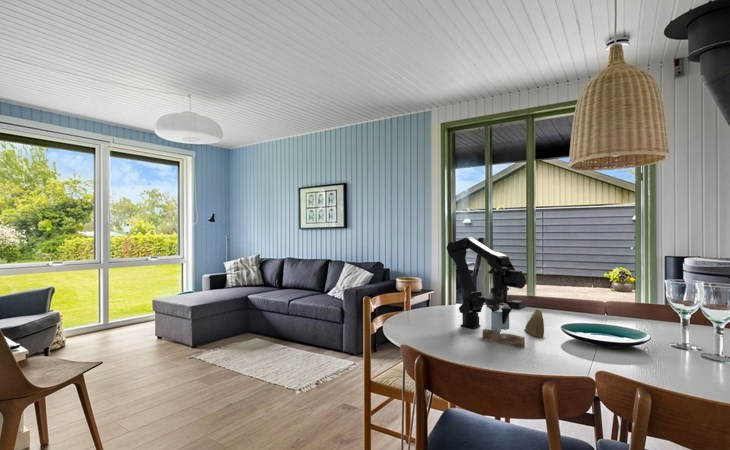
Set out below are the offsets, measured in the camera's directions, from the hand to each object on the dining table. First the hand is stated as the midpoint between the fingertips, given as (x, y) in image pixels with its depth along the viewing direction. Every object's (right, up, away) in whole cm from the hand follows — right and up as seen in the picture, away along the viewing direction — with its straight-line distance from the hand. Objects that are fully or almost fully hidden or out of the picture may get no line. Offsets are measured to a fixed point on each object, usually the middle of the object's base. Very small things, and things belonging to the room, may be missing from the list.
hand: (500, 323), depth 159 cm
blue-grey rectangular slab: (0, -3, 0) cm, 3 cm away
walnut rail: (-3, -5, -10) cm, 12 cm away
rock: (+14, -5, +1) cm, 15 cm away
